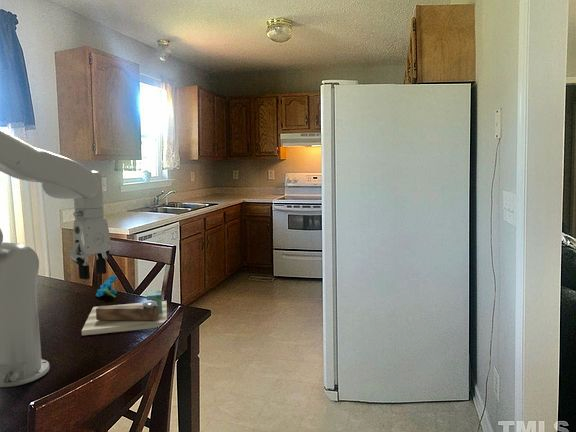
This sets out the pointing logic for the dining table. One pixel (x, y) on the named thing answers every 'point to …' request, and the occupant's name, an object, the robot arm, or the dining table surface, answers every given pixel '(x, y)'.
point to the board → (121, 322)
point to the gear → (107, 287)
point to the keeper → (156, 298)
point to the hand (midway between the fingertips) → (93, 275)
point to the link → (127, 313)
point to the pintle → (149, 304)
